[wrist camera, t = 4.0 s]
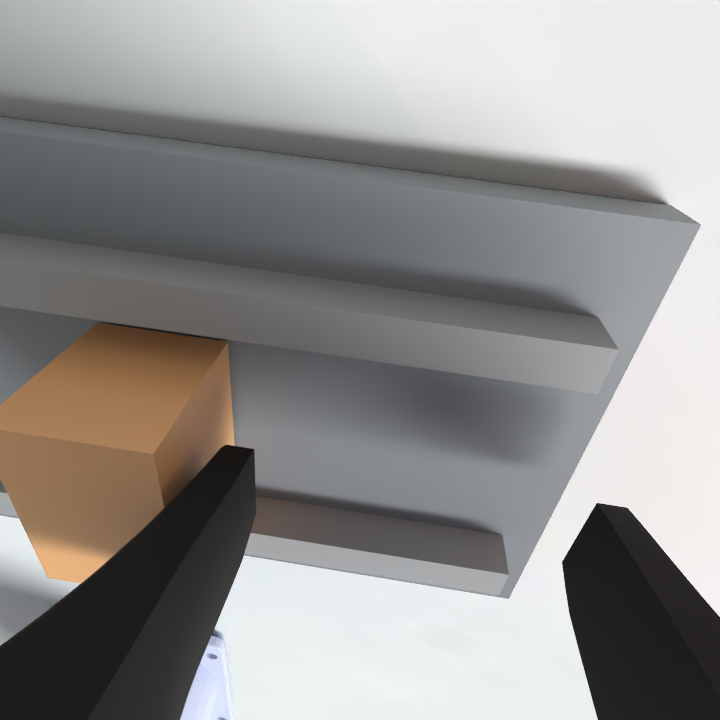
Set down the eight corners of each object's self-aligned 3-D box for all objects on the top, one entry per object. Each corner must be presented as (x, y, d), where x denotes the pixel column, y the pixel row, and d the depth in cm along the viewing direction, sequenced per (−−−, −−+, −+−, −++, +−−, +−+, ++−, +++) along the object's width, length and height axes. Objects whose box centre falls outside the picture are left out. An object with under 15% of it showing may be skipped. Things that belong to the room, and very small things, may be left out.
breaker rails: (503, 564, 16) (514, 637, 14) (-173, 454, 17) (-253, 509, 15) (670, 205, 9) (739, 250, 7) (-473, 53, 10) (-694, 56, 8)
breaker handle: (236, 476, 13) (183, 600, 10) (130, 459, 13) (47, 577, 10) (227, 341, 11) (153, 454, 8) (97, 322, 11) (-25, 425, 8)
